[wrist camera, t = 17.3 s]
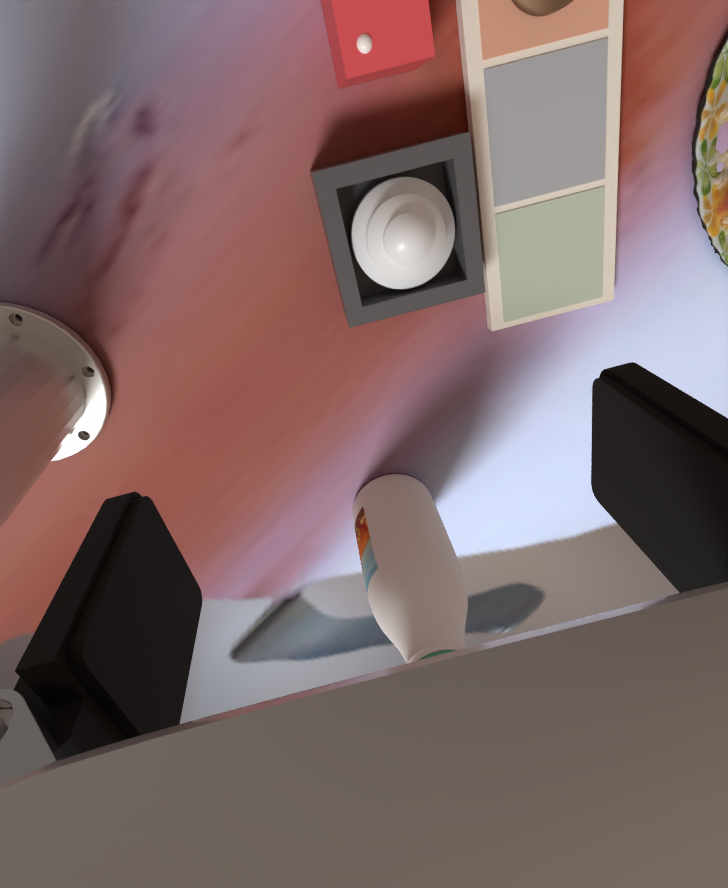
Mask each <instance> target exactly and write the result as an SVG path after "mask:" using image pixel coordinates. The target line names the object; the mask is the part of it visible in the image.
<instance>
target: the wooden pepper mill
mask: <svg viewBox="0 0 728 888" xmlns="http://www.w3.org/2000/svg"><path fill="white" fill-rule="evenodd" d="M572 1H573V0H512V2H513V3H514V4H515V6H516V7H517V8H518V9H520V10H521V11H522V12H524V13H526V14H528V15H531V16H538V17H539V16H546V15H550V14H552V13H554V12H556V11H558V10H560V9H562V8H564V7H566V6H567V5H569V4H570V3H571V2H572Z"/></svg>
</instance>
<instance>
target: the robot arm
mask: <svg viewBox="0 0 728 888" xmlns="http://www.w3.org/2000/svg"><path fill="white" fill-rule="evenodd" d="M18 315H20V316H21V317H22V319H20V318H19V316H18ZM89 367H91V368H92V369H93V370H90V369H89ZM110 407H111V389H110V385H109V381H108V377H107V374H106V372H105V370H104V368H103V366H102V364H101V361H100V360H99V359H98V357H97V356H96V354H95V353H94V351H93V350H92V349H91V347H90V346H89V345H88V344H87V343H86V342H85V341H84V340H83V339H82V338H81V337H80V336H79V335H78V334H77V333H76V332H74V331H73V330H72V329H70V328H69V327H68V326H66V325H65V324H64V323H62V322H60V321H59V320H57V319H55V318H53V317H51V316H49V315H48V314H46V313H43V312H40V311H38V310H35V309H32V308H30V307H27V306H22V305H17V304H12V303H4V302H0V527H1V526H2V525H3V524H4V522H5V521H6V520H7V518H8V517H9V516H10V514H11V513H12V512H13V510H14V509H15V508H16V507H17V505H18V504H19V503H20V501H21V500H22V499H23V497H24V496H25V495H26V493H27V492H28V491H29V490H30V488H31V487H32V486H33V484H34V483H35V482H36V480H37V479H38V478H39V476H40V475H41V474H42V473H43V471H44V470H45V469H46V467H47V466H48V465H49V463H50V462H51V461H57V460H62V459H64V458H67V457H70V456H73V455H75V454H77V453H78V452H80V451H82V450H83V449H85V448H86V447H88V446H89V445H90V444H91V443H92V442H93V441H94V440H95V439H96V438H97V436H98V435H99V433H100V432H101V430H102V429H103V427H104V425H105V423H106V421H107V419H108V417H109V412H110ZM591 485H592V490H593V493H594V496H595V497H596V499H597V501H598V502H599V503H600V504H601V505H602V506H603V507H604V509H605V510H606V511H607V512H608V513H609V514H610V515H611V516H612V517H613V519H614V520H615V521H616V522H617V523H618V524H619V525H620V526H621V528H622V529H623V530H624V531H625V532H626V533H627V534H628V535H629V536H630V537H631V539H632V540H633V541H634V542H635V543H636V544H637V545H638V547H640V549H641V550H642V551H643V552H644V553H645V554H646V555H647V557H648V558H649V559H650V560H651V561H652V562H653V563H654V564H655V566H656V567H657V568H658V569H659V570H660V571H661V572H662V573H663V574H664V576H665V577H666V578H667V579H668V580H669V581H670V582H671V583H672V585H673V586H674V587H675V588H676V589H677V590H678V591H679V592H680V593H678V594H674V595H670V596H667V597H663V598H658V599H655V600H651V601H647V602H643V603H639V604H635V605H632V606H627V607H624V608H619V609H616V610H612V611H608V612H604V613H600V614H596V615H593V616H588V617H584V618H581V619H576V620H572V621H569V622H565V623H561V624H557V625H553V626H549V627H545V628H541V629H537V630H533V631H530V632H526V633H522V634H518V635H514V636H510V637H507V638H503V639H499V640H495V641H491V642H487V643H484V644H480V645H476V646H472V647H468V648H464V649H460V650H457V651H453V652H449V653H445V654H441V655H437V656H434V657H430V658H426V659H422V660H418V661H415V662H411V663H407V664H403V665H399V666H396V667H392V668H388V669H384V670H381V671H376V672H373V673H369V674H365V675H361V676H357V677H354V678H350V679H346V680H343V681H339V682H335V683H331V684H328V685H324V686H320V687H316V688H312V689H309V690H305V691H301V692H298V693H294V694H290V695H287V696H283V697H279V698H275V699H271V700H268V701H264V702H260V703H256V704H253V705H249V706H245V707H242V708H238V709H234V710H230V711H227V712H223V713H219V714H215V715H212V716H208V717H204V718H201V719H197V720H194V721H190V722H187V723H183V724H179V723H180V718H181V713H182V707H183V702H184V697H185V691H186V686H187V681H188V675H189V670H190V665H191V660H192V654H193V648H194V644H195V639H196V633H197V628H198V622H199V617H200V612H201V606H202V594H201V590H200V587H199V585H198V583H197V582H196V580H195V578H194V576H193V574H192V572H191V571H190V569H189V567H188V565H187V563H186V562H185V560H184V558H183V556H182V554H181V552H180V551H179V549H178V547H177V545H176V543H175V541H174V540H173V538H172V536H171V534H170V532H169V531H168V529H167V527H166V525H165V523H164V521H163V520H162V518H161V516H160V514H159V512H158V510H157V509H156V507H155V505H154V503H153V501H152V500H151V499H150V498H149V497H148V496H144V497H142V496H141V495H140V494H139V493H137V492H132V493H128V494H124V495H120V496H116V497H113V498H109V499H106V500H105V501H104V503H103V504H102V506H101V508H100V510H99V512H98V514H97V516H96V518H95V520H94V522H93V523H92V525H91V527H90V529H89V531H88V533H87V535H86V537H85V539H84V541H83V542H82V544H81V546H80V548H79V550H78V552H77V554H76V556H75V558H74V560H73V561H72V563H71V565H70V567H69V569H68V571H67V573H66V575H65V577H64V579H63V580H62V582H61V584H60V586H59V588H58V590H57V592H56V594H55V596H54V598H53V599H52V601H51V603H50V605H49V607H48V609H47V611H46V613H45V615H44V617H43V618H42V620H41V622H40V624H39V626H38V628H37V630H36V632H35V634H34V636H33V637H32V639H31V641H30V643H29V645H28V647H27V649H26V651H25V653H24V655H23V656H22V658H21V660H20V662H19V664H18V666H17V668H16V670H15V671H16V673H17V674H18V675H19V676H20V678H19V680H18V682H17V684H16V686H15V688H14V690H7V689H4V690H0V888H728V418H726V417H724V416H723V415H721V414H719V413H718V412H716V411H714V410H713V409H711V408H709V407H708V406H706V405H704V404H703V403H701V402H699V401H698V400H696V399H694V398H693V397H691V396H689V395H688V394H686V393H684V392H683V391H681V390H679V389H678V388H676V387H674V386H673V385H671V384H670V383H668V382H666V381H665V380H663V379H661V378H660V377H658V376H656V375H655V374H653V373H651V372H650V371H648V370H646V369H645V368H643V367H641V366H640V365H638V364H636V363H633V362H632V363H627V364H623V365H619V366H616V367H612V368H608V369H604V370H603V371H602V372H601V374H600V378H597V379H595V380H594V382H593V389H592V470H591Z"/></svg>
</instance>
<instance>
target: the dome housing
mask: <svg viewBox="0 0 728 888" xmlns="http://www.w3.org/2000/svg"><path fill="white" fill-rule="evenodd" d="M310 173H311V177H312V182H313V186H314V190H315V194H316V198H317V202H318V206H319V210H320V214H321V218H322V223H323V227H324V231H325V235H326V239H327V243H328V247H329V251H330V255H331V259H332V264H333V268H334V272H335V276H336V280H337V284H338V288H339V292H340V296H341V300H342V305H343V309H344V313H345V316H346V319H347V322H348V324H349V327H354V326H358V325H362V324H366V323H370V322H373V321H377V320H381V319H385V318H389V317H393V316H397V315H400V314H404V313H408V312H412V311H416V310H420V309H423V308H427V307H431V306H435V305H439V304H443V303H447V302H450V301H454V300H458V299H462V298H466V297H470V296H473V295H477V294H481V293H485V292H486V291H485V281H484V271H483V260H482V250H481V240H480V229H479V219H478V209H477V198H476V188H475V178H474V167H473V157H472V147H471V136H470V132H463V133H454V134H450V135H446V136H443V137H439V138H435V139H431V140H427V141H423V142H419V143H416V144H412V145H408V146H404V147H400V148H396V149H392V150H388V151H385V152H381V153H377V154H373V155H369V156H365V157H361V158H358V159H354V160H350V161H346V162H342V163H338V164H334V165H331V166H327V167H323V168H319V169H315V170H311V171H310ZM401 176H406V177H413V178H417V179H421V180H424V181H426V182H428V183H430V184H431V185H433V186H434V187H436V188H437V189H438V190H439V191H440V192H441V193H442V194H443V196H444V197H445V198H446V200H447V202H448V203H449V206H450V208H451V210H452V213H453V217H454V223H455V238H454V243H453V247H452V250H451V253H450V255H449V258H448V259H447V261H446V263H445V264H444V266H443V267H442V269H441V270H440V271H439V272H438V273H437V274H436V275H435V276H434V277H433V278H431V279H430V280H428V281H427V282H425V283H423V284H421V285H419V286H416V287H413V288H409V289H393V288H388V287H385V286H383V285H380V284H379V283H377V282H375V281H374V280H372V279H371V278H370V277H369V276H368V275H367V274H366V273H365V272H364V271H363V269H362V268H361V266H360V265H359V263H358V262H357V260H356V258H355V255H354V253H353V250H352V246H351V240H350V228H351V222H352V217H353V214H354V211H355V209H356V207H357V205H358V203H359V202H360V200H361V199H362V197H363V196H364V195H365V194H366V193H367V192H368V191H369V190H370V189H371V188H372V187H373V186H375V185H376V184H378V183H380V182H382V181H384V180H386V179H389V178H393V177H401Z"/></svg>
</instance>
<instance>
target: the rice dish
mask: <svg viewBox="0 0 728 888" xmlns="http://www.w3.org/2000/svg"><path fill="white" fill-rule="evenodd" d="M724 121H727V122H728V36H727V38H726V40H725V42H724V44H723V45H722V47H721V49H720V50H719V52H718V54H717V56H716V57H715V59H714V61H713V62H712V64H711V69H710V73H709V76H708V78H707V80H706V85H705V92H704V96H703V98H702V100H701V102H700V104H699V106H698V110H697V124H696V130H695V136H694V139H693V141H692V155H693V159H694V160H693V161H692V172H693V175H694V180H695V188H694V195H695V197H696V199H697V201H698V207H697V212H698V215H699V217H700V218H701V222H702V226H703V228H704V229H705V230H706V232H707V234H708V236H709V240H710V241H711V245H712V246H713V247H714V250H715V253H718V254H719V255H720V259H721V261H722V262H723V263H724V264H726V265H727V266H728V150H727V151H726V152H725V153H724V154H723V155H722V154H721V153H720V152H719V151H717V150H716V148H715V147H716V140H717V136H718V132H719V129H720V126H721V125H722V124H723V123H724ZM722 162H723V163H724V168H723V170H722V171H721V172H717V168H716V165H717V164H718V163H722Z"/></svg>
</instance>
